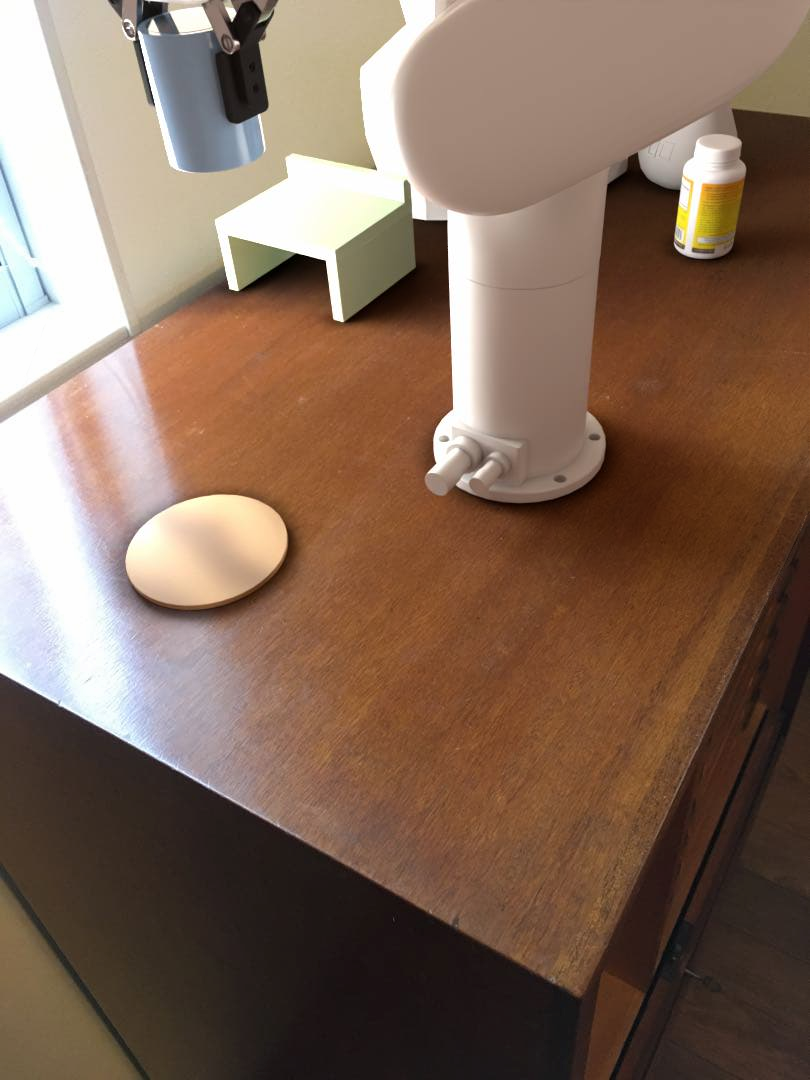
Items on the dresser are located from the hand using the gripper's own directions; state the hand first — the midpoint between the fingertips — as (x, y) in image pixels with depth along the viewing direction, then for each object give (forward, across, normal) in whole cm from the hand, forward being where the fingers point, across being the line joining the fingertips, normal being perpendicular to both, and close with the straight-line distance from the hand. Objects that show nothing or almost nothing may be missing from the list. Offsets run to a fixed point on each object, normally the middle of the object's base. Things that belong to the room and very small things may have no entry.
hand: (208, 106), depth 60 cm
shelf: (+23, -11, +20) cm, 32 cm away
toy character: (+24, +10, +57) cm, 63 cm away
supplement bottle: (+24, +18, +43) cm, 52 cm away
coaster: (+23, +8, -15) cm, 29 cm away
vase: (+24, -10, +38) cm, 46 cm away
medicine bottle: (+24, 0, +53) cm, 58 cm away
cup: (+3, 0, 0) cm, 3 cm away
